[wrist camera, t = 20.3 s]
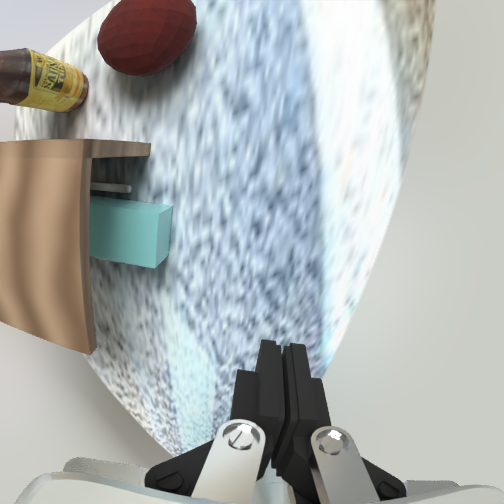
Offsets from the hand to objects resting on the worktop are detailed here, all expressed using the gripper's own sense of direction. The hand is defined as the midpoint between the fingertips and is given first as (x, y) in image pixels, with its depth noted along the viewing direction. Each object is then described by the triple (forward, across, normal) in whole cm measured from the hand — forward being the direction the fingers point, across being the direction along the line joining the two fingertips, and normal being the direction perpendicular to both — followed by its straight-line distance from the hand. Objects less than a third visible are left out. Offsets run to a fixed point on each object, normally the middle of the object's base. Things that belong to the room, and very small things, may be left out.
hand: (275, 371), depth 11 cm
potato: (+25, +16, -21) cm, 37 cm away
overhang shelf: (+25, +22, +2) cm, 33 cm away
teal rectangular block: (+25, +20, +2) cm, 32 cm away
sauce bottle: (+25, +28, -15) cm, 41 cm away
